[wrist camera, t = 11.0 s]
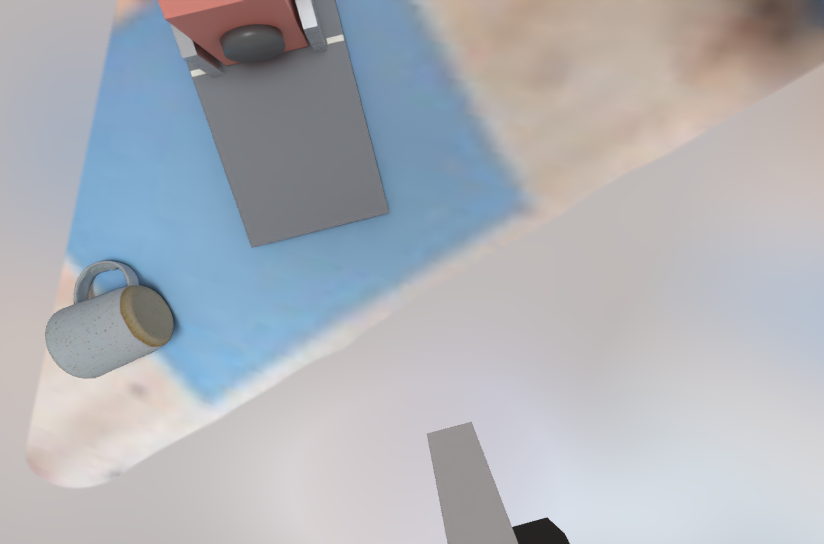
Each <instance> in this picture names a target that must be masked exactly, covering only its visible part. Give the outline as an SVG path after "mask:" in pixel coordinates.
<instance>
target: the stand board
mask: <svg viewBox="0 0 824 544" xmlns="http://www.w3.org/2000/svg"><path fill="white" fill-rule="evenodd" d="M314 2H315V6H316V10H317V14H318V17H319V21H320V25H321V29H322V32H323V36H324V40H325V44H326V47H327V51H322V52H318V53H315V52H314V50H313V48H312V46H311V44H310V42H309V40H308V38H307V36H306V38H307V42H308V46H307V47H303V48H299V49H294V50H290V51H286V52H282V53H281V54H279V55H277V56H275V57H273V58H270V59H267V60H263V61H257V62H240V63H236V64H232V65H228V66H226V65H224V64H223V63H222V65H223V68H224V71H225V74H226V75H223V76H219V77H215V78H213V77H211V76H210V75H208V74H207V73H205V72H203V71H202V70H200V69H199V68H197V67H195V66H194V65H192V64H191V63H189V62H188V61H187V64H188V67H189V70H190V73H191V76H192V78H193V81H194V84H195V87H196V90H197V93H198V96H199V98H200V101H201V104H202V107H203V110H204V113H205V116H206V119H207V121H208V124H209V127H210V130H211V133H212V136H213V139H214V141H215V144H216V147H217V150H218V153H219V156H220V159H221V161H222V164H223V167H224V170H225V173H226V176H227V179H228V181H229V184H230V187H231V190H232V193H233V196H234V199H235V202H236V204H237V207H238V210H239V213H240V216H241V219H242V222H243V224H244V227H245V230H246V233H247V236H248V239H249V242H250V244H251V247H256V246H260V245H264V244H268V243H272V242H276V241H280V240H284V239H288V238H292V237H296V236H300V235H304V234H308V233H312V232H316V231H320V230H324V229H327V228H331V227H335V226H339V225H343V224H347V223H351V222H355V221H359V220H363V219H367V218H371V217H375V216H379V215H383V214H387V213H389V210H388V206H387V202H386V198H385V195H384V191H383V187H382V183H381V179H380V175H379V171H378V167H377V163H376V159H375V155H374V152H373V148H372V144H371V140H370V136H369V132H368V128H367V124H366V120H365V116H364V112H363V108H362V105H361V101H360V97H359V93H358V89H357V85H356V81H355V77H354V73H353V69H352V65H351V62H350V58H349V54H348V50H347V46H346V42H345V38H344V34H343V30H342V26H341V22H340V19H339V15H338V11H337V7H336V3H335V0H314ZM305 35H306V34H305Z"/></svg>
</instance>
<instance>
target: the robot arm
mask: <svg viewBox="0 0 824 544" xmlns="http://www.w3.org/2000/svg"><path fill="white" fill-rule="evenodd" d="M427 437H428V442H429V448H430V453H431V458H432V463H433V469H434V474H435V479H436V485H437V490H438V495H439V500H440V506H441V511H442V516H443V521H444V527H445V532H446V537H447V543H448V544H570V543H569V541H568V539H567V537H566V535H565V533H563V532H562V531H561V530H560V529H559V528H558V527H557V526H556V525H555V524H554V523H553V522H551V521H550V520H549V519H548V518H543V519H540V520H536V521H532V522H529V523H525V524H522V525H518V526H514V527H512V526H511V523H510V521H509V518H508V516H507V513H506V511H505V508H504V505H503V503H502V500H501V497H500V495H499V492H498V490H497V487H496V484H495V482H494V479H493V477H492V474H491V471H490V469H489V466H488V464H487V461H486V458H485V456H484V453H483V451H482V448H481V446H480V443H479V440H478V438H477V435H476V432H475V430H474V427H473V425H472V422H469V423H465V424H462V425H458V426H454V427H450V428H447V429H443V430H439V431H435V432H432V433H428V434H427Z"/></svg>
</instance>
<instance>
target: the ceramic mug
mask: <svg viewBox="0 0 824 544" xmlns="http://www.w3.org/2000/svg"><path fill="white" fill-rule="evenodd" d="M118 268H119V269H120V270H121V271H122V272H123V273H124V276H125V278H126V281H127V286H126V287H122V288H118V289H115V290H113V291H110V292H108V293H106V294H103V295H100V296H97V297H95V298H91V299H88V291H89V287H90V284H91V281H92V280H93V278H94V277H95V276H96V275H97V274H98V273H100V272H104V271H107V270H111V269H112V270H116V269H118ZM173 327H174V324H173V317H172V314H171V311H170V309H169V307H168V305H167V304H166V302H165V301H164V300H163V298H162V297H161V296H160V295H159V294H158V293H156V292H155V291H153V290H152V289H150V288H148V287H145V286H141V285H139V281H138V277H137V276H136V274H135V273H134V271H133V270H132V269H131V268H130V267H129V266H127V265H125V264H123V263H119V262H115V261H101V262H97V263H94V264H92V265H90V266H88V267H87V268H86V269H85V270H83V272H82V273H81V274H80V276H79V277H78V280H77V282H76V285H75V289H74V305H72V306H69V307H66V308H63V309H61V310H59V311H58V312H56V313H54V314H53V315H52V317H51V318H50V320H49V321H48V323H47V326H46V332H45V338H46V345H47V348H48V351H49V353H50V355H51V356H52V358H53V360H54V361H55V362H56V363H57V365H58V366H59V367H60V368H62V369H63V370H64V371H65V372H67V373H69V374H70V375H73V376H75V377H79V378H86V379H87V378H96V377H99V376H101V375H104V374H106V373H108V372H110V371H112V370H114V369H117V368H119V367H121V366H124V365H126V364H128V363H130V362H132V361H134V360H136V359H138V358H141V357H143V356H145V355H148V354H150V353H152V352H154V351H156V350H157V349H159V348H160V347H162V346H164V345H165V344H166V343H167V342H168V341H169V340H170V338H171V336H172V333H173Z"/></svg>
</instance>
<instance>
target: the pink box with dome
mask: <svg viewBox="0 0 824 544" xmlns="http://www.w3.org/2000/svg"><path fill="white" fill-rule="evenodd" d="M158 1H159V4H160V6H161V9H162V12H163V15H164V18H165V20H167V21H168V22H169V23H171V24H172V25H173V26H175V27H176V28H177V29H178V30H180V31H181V32H182V33H184V34H185V35H186V36H188V37H189V38H190V39H192V40H193V41H194V42H196V43H197V44H198V45H199V46H201V47H202V48H203V49H205V50H206V51H207V52H209V53H210V54H211V55H213V56H214V57H215V58H217V59H218V60H219V61H220V62H222V63H223V64H224V65H226V66H228V65H232V64H236V63H240V62H257V61H263V60H267V59H270V58H273V57H275V56H277V55H279V54H281V53H282V52H286V51H290V50H294V49H299V48H303V47H307V46H308V42H307V38H306V35H305V32H304V30H303V26H302V23H301V19H300V16H299V12H298V8H297V5H296V1H295V0H158Z"/></svg>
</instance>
